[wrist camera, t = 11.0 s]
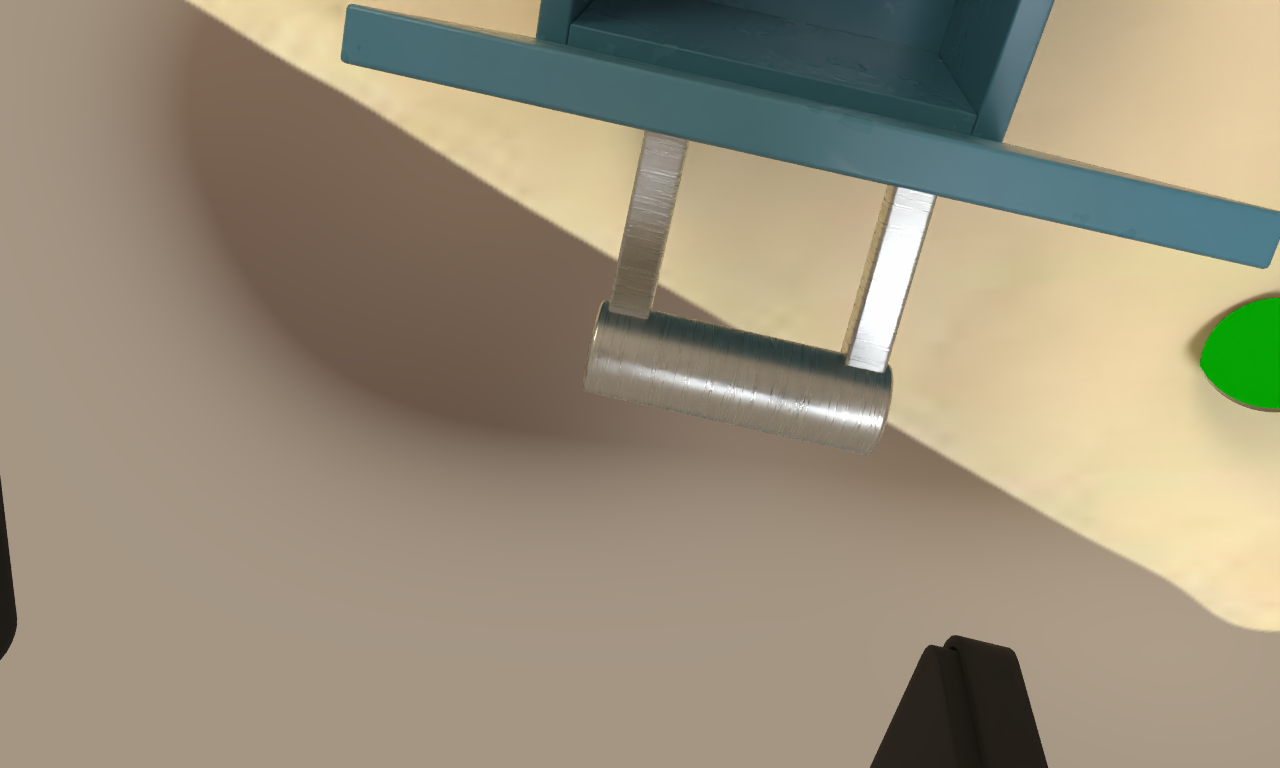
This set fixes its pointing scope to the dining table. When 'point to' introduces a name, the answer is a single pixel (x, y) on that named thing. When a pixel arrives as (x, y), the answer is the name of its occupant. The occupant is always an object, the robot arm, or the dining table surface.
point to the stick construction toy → (1246, 356)
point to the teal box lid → (804, 135)
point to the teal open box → (831, 50)
